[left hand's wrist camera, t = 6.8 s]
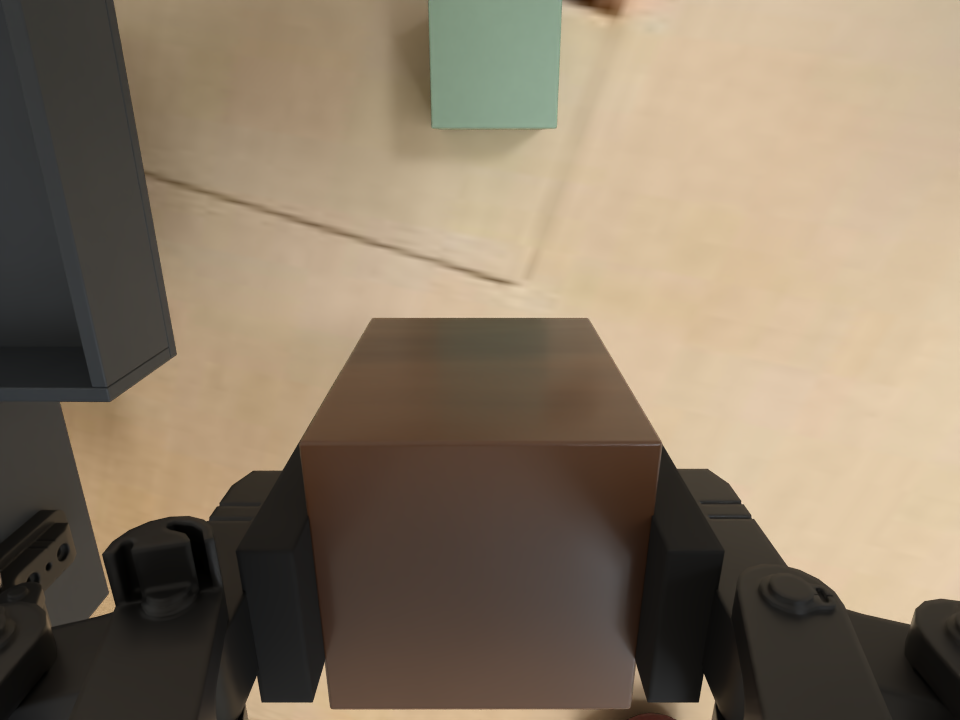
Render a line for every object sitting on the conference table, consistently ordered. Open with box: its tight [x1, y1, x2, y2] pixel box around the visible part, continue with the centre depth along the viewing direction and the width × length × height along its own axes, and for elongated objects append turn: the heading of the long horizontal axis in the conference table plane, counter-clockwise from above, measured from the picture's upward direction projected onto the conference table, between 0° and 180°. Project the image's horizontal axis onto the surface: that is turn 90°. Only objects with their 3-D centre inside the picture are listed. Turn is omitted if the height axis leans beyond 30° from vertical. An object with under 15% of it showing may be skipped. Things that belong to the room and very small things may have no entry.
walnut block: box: [299, 318, 662, 709], centre depth 12 cm, size 5×5×6 cm
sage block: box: [428, 0, 562, 130], centre depth 26 cm, size 5×5×6 cm
